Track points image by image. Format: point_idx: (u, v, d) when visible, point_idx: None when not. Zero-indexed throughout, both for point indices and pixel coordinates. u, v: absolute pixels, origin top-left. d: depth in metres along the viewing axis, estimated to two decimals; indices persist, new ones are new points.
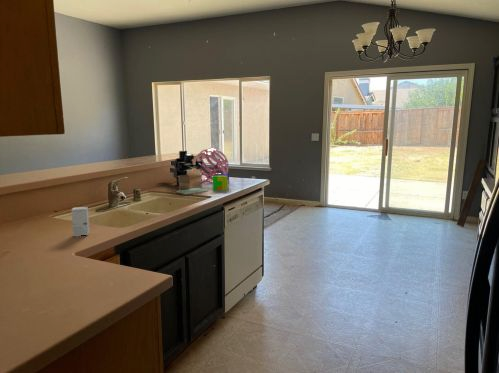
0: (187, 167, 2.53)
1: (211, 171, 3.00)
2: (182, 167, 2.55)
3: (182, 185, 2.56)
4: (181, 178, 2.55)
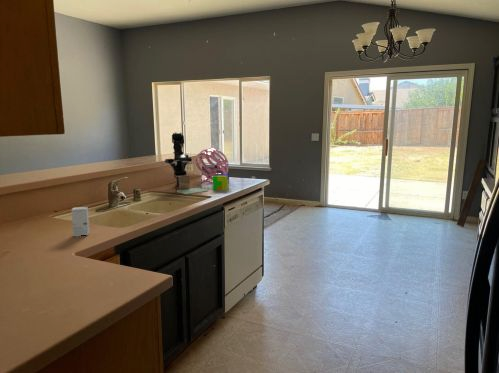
0: (173, 169, 2.60)
1: (211, 171, 3.00)
2: (171, 163, 2.58)
3: (182, 185, 2.56)
4: (181, 178, 2.55)
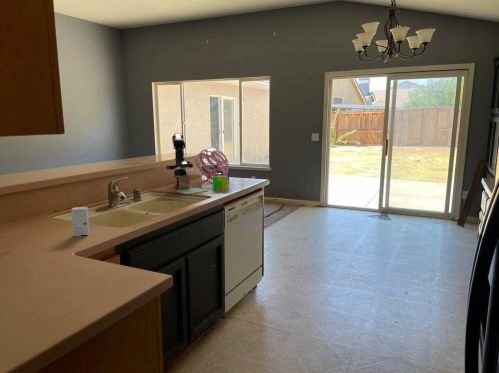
0: (179, 175, 2.61)
1: (211, 171, 3.00)
2: (176, 169, 2.59)
3: (182, 185, 2.56)
4: (181, 178, 2.55)
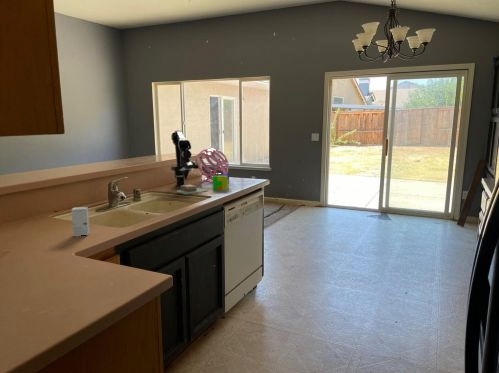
0: (184, 176, 2.55)
1: (211, 171, 3.00)
2: (181, 170, 2.53)
3: None
4: None
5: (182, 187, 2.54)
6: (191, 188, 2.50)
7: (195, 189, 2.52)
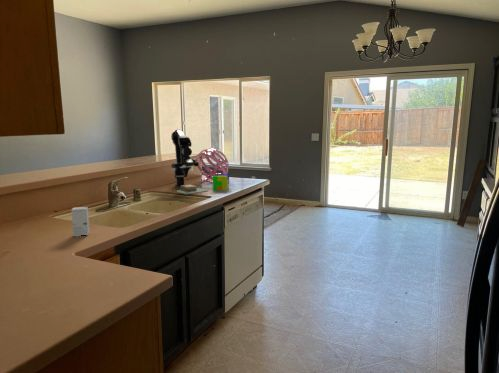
0: (184, 173, 2.54)
1: (211, 171, 3.00)
2: None
3: None
4: None
5: (182, 187, 2.54)
6: (191, 188, 2.50)
7: (195, 189, 2.52)
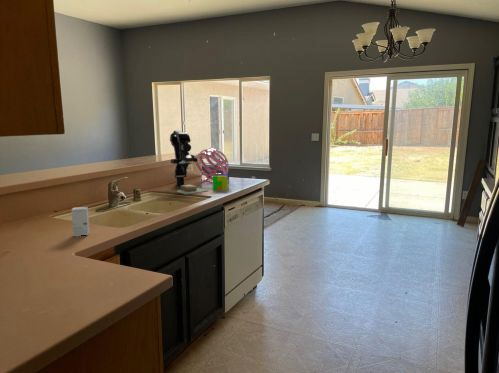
0: (183, 169, 2.59)
1: (211, 171, 3.00)
2: (180, 163, 2.57)
3: None
4: None
5: (182, 187, 2.54)
6: (191, 188, 2.50)
7: (195, 189, 2.52)
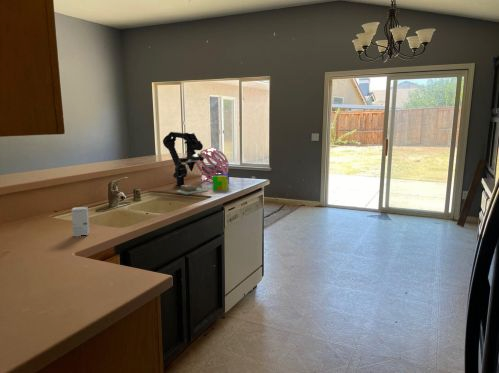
0: (190, 168, 2.65)
1: (211, 171, 3.00)
2: (187, 162, 2.64)
3: None
4: None
5: (182, 187, 2.54)
6: (191, 188, 2.50)
7: (195, 189, 2.52)
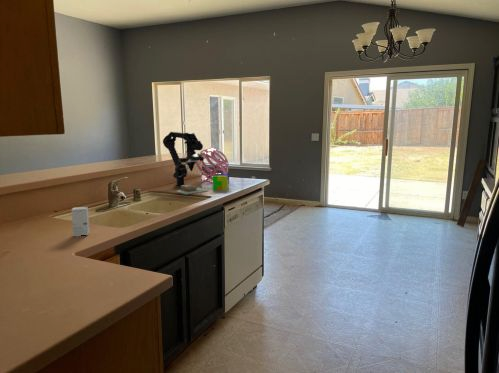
0: (190, 168, 2.65)
1: (211, 171, 3.00)
2: (187, 162, 2.64)
3: None
4: None
5: (182, 187, 2.54)
6: (191, 188, 2.50)
7: (195, 189, 2.52)
